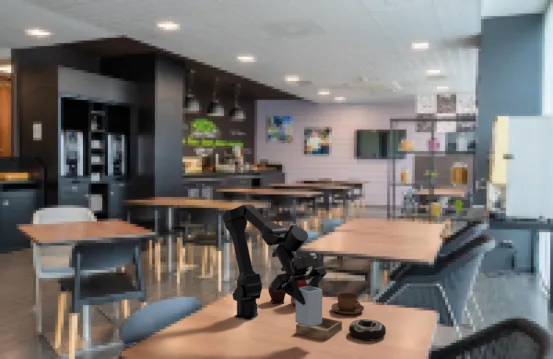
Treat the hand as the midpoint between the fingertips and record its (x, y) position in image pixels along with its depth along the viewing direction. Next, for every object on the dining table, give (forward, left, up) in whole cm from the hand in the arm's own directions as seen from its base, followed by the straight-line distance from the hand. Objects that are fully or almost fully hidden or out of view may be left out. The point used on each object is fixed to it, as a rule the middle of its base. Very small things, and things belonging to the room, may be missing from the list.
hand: (311, 302), depth 149 cm
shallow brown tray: (-2, +13, -13) cm, 18 cm away
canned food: (-19, +38, -13) cm, 44 cm away
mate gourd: (-29, +37, -13) cm, 49 cm away
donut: (+13, +17, -14) cm, 25 cm away
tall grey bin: (-1, +1, -7) cm, 7 cm away
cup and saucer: (0, +38, -14) cm, 40 cm away
